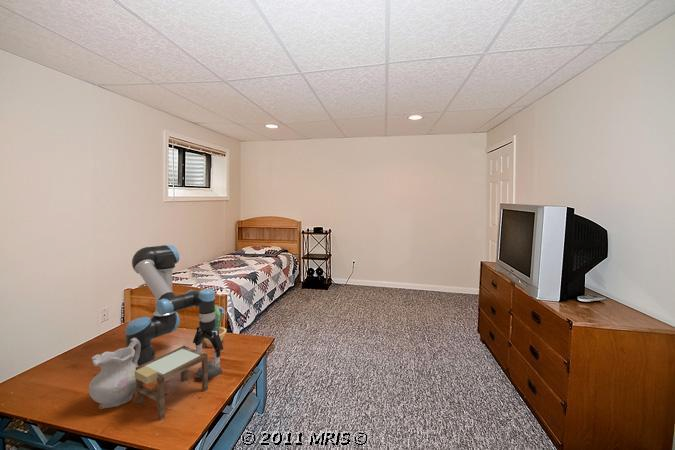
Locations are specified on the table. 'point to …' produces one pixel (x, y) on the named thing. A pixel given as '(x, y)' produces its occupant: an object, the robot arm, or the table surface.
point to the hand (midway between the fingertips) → (208, 359)
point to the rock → (210, 370)
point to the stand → (160, 380)
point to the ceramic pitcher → (115, 376)
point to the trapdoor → (164, 365)
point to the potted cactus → (217, 325)
